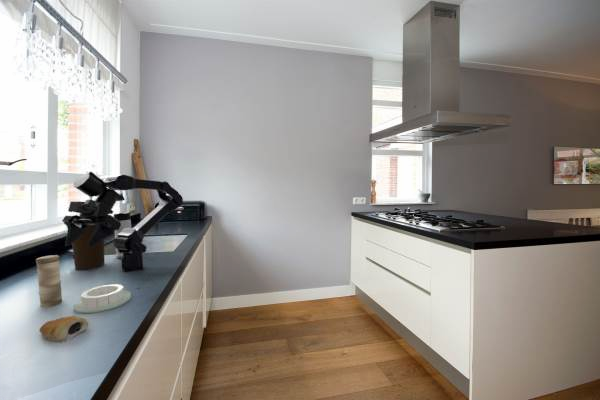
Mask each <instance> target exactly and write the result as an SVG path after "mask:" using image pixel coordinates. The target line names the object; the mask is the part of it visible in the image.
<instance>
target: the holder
mask: <svg viewBox="0 0 600 400" xmlns="http://www.w3.org/2000/svg"><path fill="white" fill-rule="evenodd" d="M80 298H81V299H80V300H78V301H76V302H75V303H74V304H73V311H74V312H76V313H78V314H94V313H95V314H96V313H101V312H105V311H109V310H112V309H116V308H117V307H120V306H123V305H124V304H126V303H128V302H129V301H130V299H131V298H132V293H131V292H130V291H128V290H124V285H122V284H117V283H115V284H105V285H99V286H95V287H93V288H90V289H87V290H85V291H83V292H82V293H81V296H80Z"/></svg>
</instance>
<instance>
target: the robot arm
mask: <svg viewBox="0 0 600 400" xmlns="http://www.w3.org/2000/svg"><path fill="white" fill-rule="evenodd" d="M72 185H73V187H74V188H75V189H76V190H78V191H80V192H82V193H83V194H85V195H86V196H88V197H89V198H92V197H95V199H86V200H85V201H80V200H79V201H78V200H77V201H76V200H75V201H70V202H69V205H68V210H67V212H69V213H77V214H68V215H65V216H64V217H63V218H62V220H61V222H63V224H64V225H65V226H66V229H67V234H66V238H65V242H64V245H65V246H67V247H69V246H71V245H72V243H73V242H74V241H75V240H76V239H77V238H78V237H79V236H80V235H81V234H82V233H83V232H84V231H85V230H84V229H85V228H87V226H88V225H95V230H94V232H93V234H92V236H91V238H90V240H89V242H88V244H87V246H89V247H91V246H93V245H94V244H95V243H97V242H98V241H100V240H101V239H103V238H104V239H105V238H106V237H107V236H109V235H110V234H112V233H115V230H119V228H120V227H121V222H120V221H119V220H117V219H116V218H114V215H113V213H114V211H113V210H112V209H113V208H114V206H115V204H116V203H117V202H121V201H122V202H123V201H125V197H124V195H123V193H122V192H121V193H118V192H117V191H130V190H135V189H136V190H137V189H138V190H153V191H156V192H157V194H158V198H159V199H160V200H159V203H158V205H157V207H156V208H154V209H152V211H151V212H149V213H148V215H146V216H145V217H144V218H142V220H140V221H139V222H138V223H137V224H136V225H135V226H134V227H131V228H124V229H123V230H122V231H121V232H120V233H119V234H117V237H116V238H115V237H114V239H113V241H114V242H113V245H114V248H115V249H116V248H117V249H118V251H119V253H123V257H121V259H120V260H121V261H120V262H121V269H122V270H123V272H132V271H137V270H143V269H144V268H145V267H144V264H143V263H144V262H143V261H144V259H143V253H146V251H147V245H145V244H144V243H143V241H144V237H145V235H147V233H148V232H149V231H150V230H151V229H153V227H155V226H156V225H157V224H158V223H159V222H160V221H161V220H162V219H163V218H164V217H165V216H166V215H167V214H168V213H170V212H172V211H175V210H177V209H178V208H180V207H181V206H183V205H184V204H183V203H184V199H183V196H182V194H180V193H179V192H178V191H177V190H176V189H175V188H174V187H172V186H171V185H170V183H169V182H168V181H165V180H162V181H161V180H150V179H149V180H147V179H140V178H139V179H138V178H136V177H134V176H130V175H127V174H110V175H109V176H107V178H106V179H101V178H100V177H99V176H97V175H96V174H95V173H94V172H93V171H86V172H85V173H84V174H82V175H81V176H79V178H76V179H75V181H74V182H73V184H72ZM78 214H79V215H78ZM79 216H82V217H85V218H84V219H83V218H81V217H79Z"/></svg>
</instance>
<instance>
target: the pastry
mask: <svg viewBox="0 0 600 400" xmlns="http://www.w3.org/2000/svg"><path fill="white" fill-rule="evenodd" d="M88 327H89V322H88V320H87V319H86V318H83V317H80V316H79V317H78V316H76V315H71V316H62V317H60V318H56V319H54V320H49V321H46V322H44V323H43V324H42V325H41V326H40V327H39V329H38V331H39V333H40V334H41V336H43V338H44V339H45V340H49V341H52V342H53V341H54V342H55V343H63V342H62V341H64V342H66V341H65V340H67V341H69V340H71V339H73V338H75V337H76V336H78V335H79V334H82V333H83V332H85V331H86V330H87V328H88ZM77 334H78V335H77ZM74 336H75V337H74ZM72 337H73V338H72ZM70 338H71V339H70ZM68 339H69V340H68Z"/></svg>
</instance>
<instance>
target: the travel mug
mask: <svg viewBox="0 0 600 400" xmlns="http://www.w3.org/2000/svg"><path fill="white" fill-rule="evenodd" d="M113 217H114V218H116V219H117V220H119V221H120V222H121V227H120V228H119V230H115V232H114V239H115V238H116V237H117V234H119V233H120V232H121V231H122V230H123V229H124V228H132V221H131V213H129V212H128V213H127V212H125V213H124V212H119V213H114V214H113ZM121 257H123V253H119V251H118V249H117V248H116V247H115V258H116V259H119V258H121Z"/></svg>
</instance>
